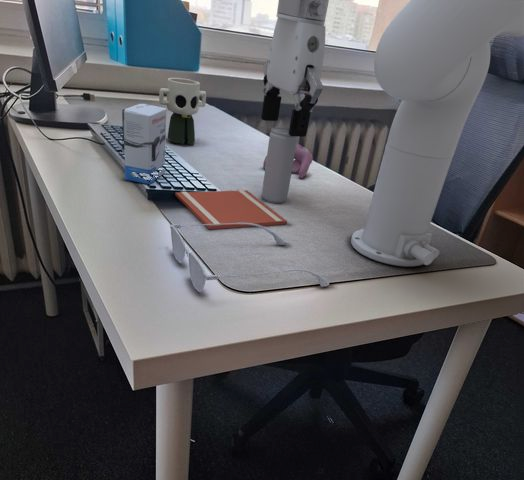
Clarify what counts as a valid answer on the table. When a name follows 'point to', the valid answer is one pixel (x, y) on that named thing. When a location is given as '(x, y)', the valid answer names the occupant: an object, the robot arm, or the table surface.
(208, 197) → the towel
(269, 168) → the beverage can
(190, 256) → the eyeglasses
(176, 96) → the character mug
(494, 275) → the table surface
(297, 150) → the video game controller
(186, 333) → the table surface
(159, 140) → the ink box
